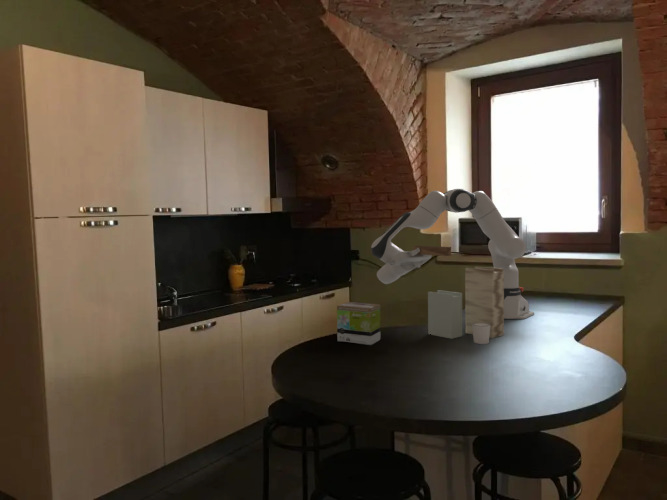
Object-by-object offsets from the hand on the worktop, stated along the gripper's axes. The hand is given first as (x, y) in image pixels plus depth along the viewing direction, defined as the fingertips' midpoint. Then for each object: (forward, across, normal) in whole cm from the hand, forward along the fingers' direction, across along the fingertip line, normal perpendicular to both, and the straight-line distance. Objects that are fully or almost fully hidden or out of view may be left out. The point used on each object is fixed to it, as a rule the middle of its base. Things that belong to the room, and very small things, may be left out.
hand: (423, 249), depth 232 cm
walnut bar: (+3, 0, +4) cm, 5 cm away
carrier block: (-5, -3, +37) cm, 38 cm away
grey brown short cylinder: (+10, -3, +46) cm, 47 cm away
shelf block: (+4, +10, +42) cm, 43 cm away
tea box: (-21, -35, +29) cm, 50 cm away
